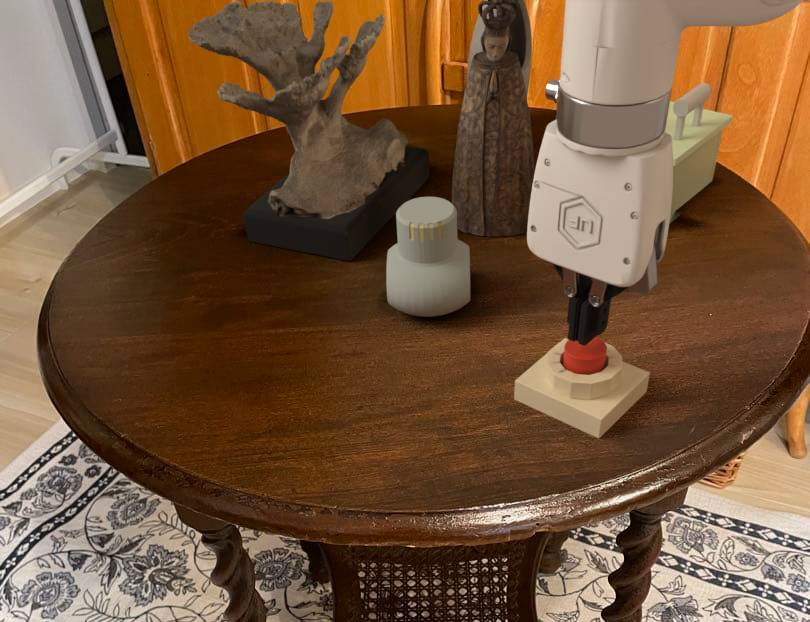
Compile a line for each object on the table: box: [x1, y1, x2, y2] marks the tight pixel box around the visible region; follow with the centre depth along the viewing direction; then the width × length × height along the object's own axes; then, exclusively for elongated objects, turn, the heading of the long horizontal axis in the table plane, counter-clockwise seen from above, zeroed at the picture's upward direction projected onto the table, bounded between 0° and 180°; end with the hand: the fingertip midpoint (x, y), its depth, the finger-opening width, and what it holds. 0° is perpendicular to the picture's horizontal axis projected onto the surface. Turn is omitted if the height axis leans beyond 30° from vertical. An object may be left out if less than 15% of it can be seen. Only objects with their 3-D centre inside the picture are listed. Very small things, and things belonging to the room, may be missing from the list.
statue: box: [451, 0, 536, 238], centre depth 90 cm, size 9×8×25 cm
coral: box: [188, 0, 430, 262], centre depth 97 cm, size 25×20×21 cm
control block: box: [513, 337, 651, 439], centre depth 77 cm, size 9×8×4 cm
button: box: [563, 336, 607, 375], centre depth 75 cm, size 4×4×2 cm
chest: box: [669, 129, 724, 225], centre depth 100 cm, size 15×13×8 cm
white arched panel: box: [465, 0, 533, 96], centre depth 105 cm, size 18×7×19 cm, turn 164°
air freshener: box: [385, 196, 471, 318], centre depth 86 cm, size 11×8×10 cm
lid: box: [665, 82, 734, 166], centre depth 95 cm, size 15×13×5 cm
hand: (585, 334), depth 73 cm, fingers closed
